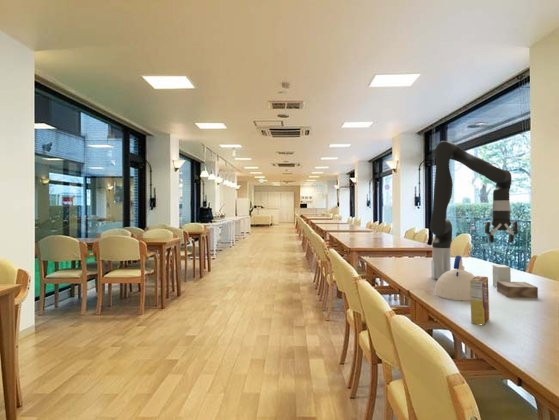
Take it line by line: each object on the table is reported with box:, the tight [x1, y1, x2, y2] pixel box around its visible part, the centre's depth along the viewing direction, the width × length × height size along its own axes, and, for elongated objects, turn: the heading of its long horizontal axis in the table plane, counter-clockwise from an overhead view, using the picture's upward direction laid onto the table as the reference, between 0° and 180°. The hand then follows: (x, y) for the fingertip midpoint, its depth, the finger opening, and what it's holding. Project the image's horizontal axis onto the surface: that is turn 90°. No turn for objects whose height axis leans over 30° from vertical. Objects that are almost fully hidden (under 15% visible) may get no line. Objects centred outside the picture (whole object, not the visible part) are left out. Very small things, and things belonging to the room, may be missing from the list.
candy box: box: [470, 275, 490, 326], centre depth 134 cm, size 9×4×15 cm, turn 140°
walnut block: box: [496, 281, 539, 299], centre depth 173 cm, size 12×12×5 cm
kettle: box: [434, 255, 476, 302], centre depth 173 cm, size 20×21×18 cm
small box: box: [492, 264, 512, 288], centre depth 189 cm, size 8×6×10 cm
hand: (501, 242), depth 189 cm, fingers open, 8 cm apart
